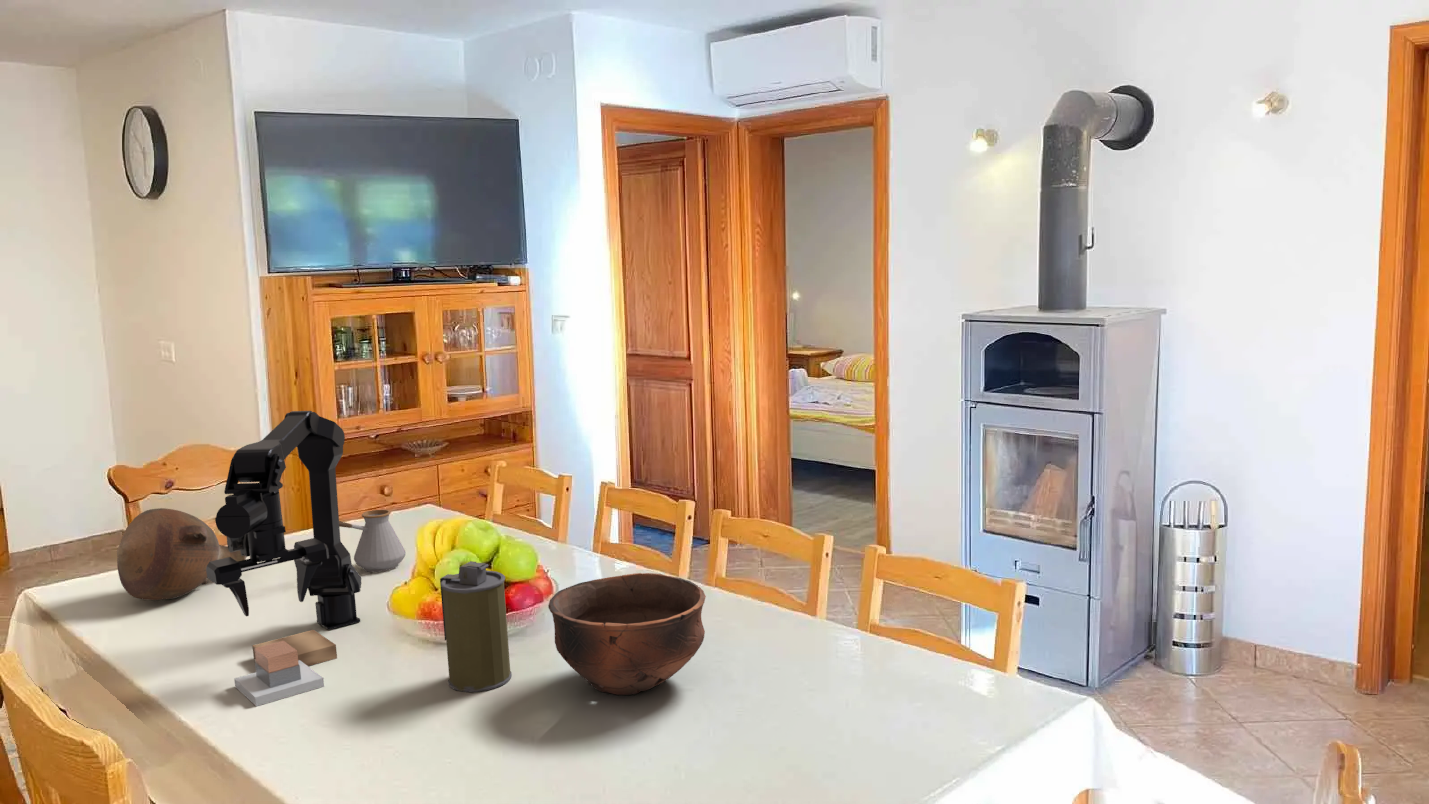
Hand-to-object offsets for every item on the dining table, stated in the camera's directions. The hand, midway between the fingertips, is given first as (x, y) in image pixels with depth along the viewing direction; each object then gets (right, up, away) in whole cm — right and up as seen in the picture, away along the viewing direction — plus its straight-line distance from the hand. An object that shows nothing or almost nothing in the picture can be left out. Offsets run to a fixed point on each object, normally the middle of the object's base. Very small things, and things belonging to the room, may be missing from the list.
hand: (274, 608), depth 184 cm
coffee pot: (-4, -4, +59) cm, 60 cm away
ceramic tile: (+3, -12, -4) cm, 13 cm away
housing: (+2, -11, -4) cm, 12 cm away
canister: (+36, -11, -4) cm, 38 cm away
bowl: (+62, -11, -9) cm, 64 cm away
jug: (-39, -6, +51) cm, 65 cm away
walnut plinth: (0, -11, +9) cm, 14 cm away
